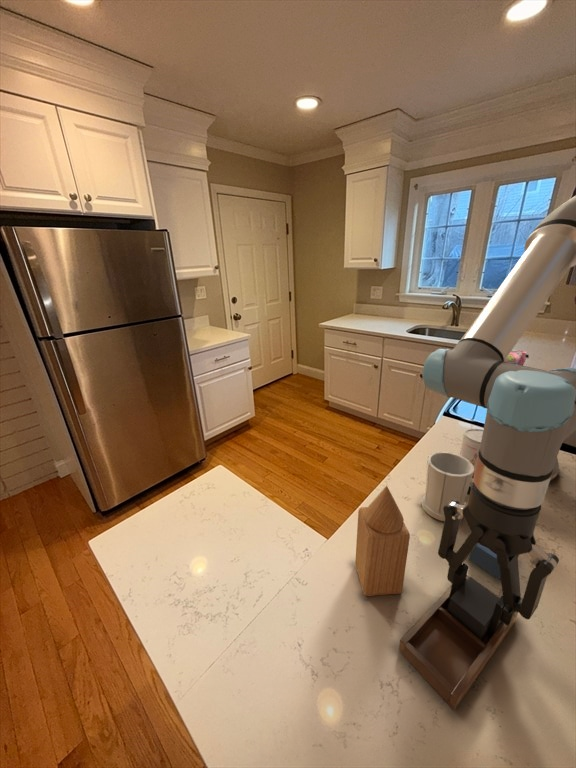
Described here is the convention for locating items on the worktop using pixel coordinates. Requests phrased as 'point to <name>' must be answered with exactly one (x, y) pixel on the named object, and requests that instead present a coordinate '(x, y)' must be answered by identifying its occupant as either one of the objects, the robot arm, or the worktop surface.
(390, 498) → the decorative item
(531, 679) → the worktop surface
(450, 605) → the dark grey block
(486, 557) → the slate blue block
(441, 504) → the cup
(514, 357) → the pencil case
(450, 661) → the holder
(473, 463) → the beverage can
